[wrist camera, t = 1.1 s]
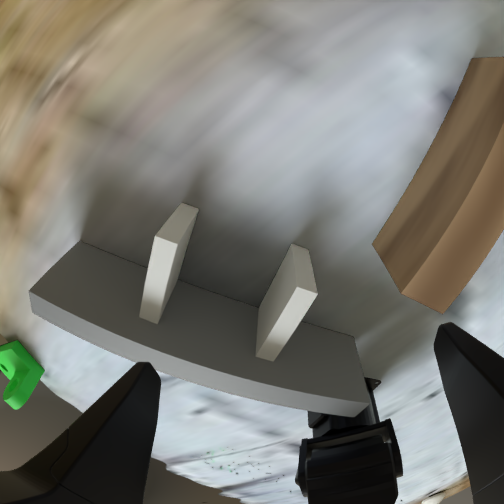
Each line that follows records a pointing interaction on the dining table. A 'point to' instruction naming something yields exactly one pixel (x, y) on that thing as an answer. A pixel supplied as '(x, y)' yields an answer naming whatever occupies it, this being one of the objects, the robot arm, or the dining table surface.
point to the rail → (452, 196)
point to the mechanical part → (18, 373)
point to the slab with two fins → (206, 324)
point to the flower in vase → (434, 499)
